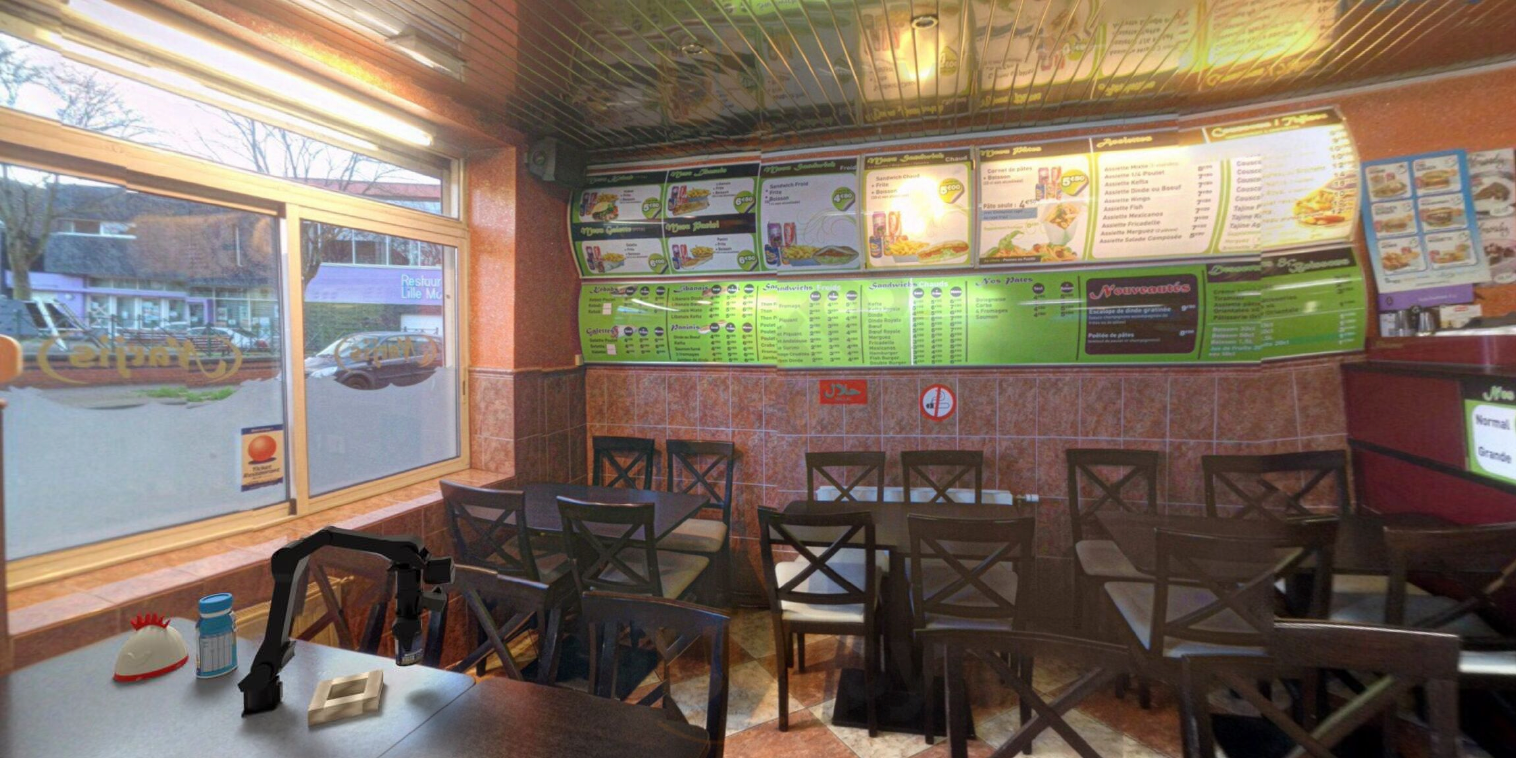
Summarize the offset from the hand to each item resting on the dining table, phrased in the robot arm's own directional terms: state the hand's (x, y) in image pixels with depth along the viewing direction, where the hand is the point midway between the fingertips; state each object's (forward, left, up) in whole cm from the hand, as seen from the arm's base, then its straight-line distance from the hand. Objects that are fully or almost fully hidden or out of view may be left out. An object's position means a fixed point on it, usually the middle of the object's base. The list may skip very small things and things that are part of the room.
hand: (409, 646), depth 150 cm
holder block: (-13, -1, -11) cm, 17 cm away
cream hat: (-62, +41, -11) cm, 75 cm away
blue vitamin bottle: (-46, +31, -11) cm, 56 cm away
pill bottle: (0, 0, -4) cm, 4 cm away
